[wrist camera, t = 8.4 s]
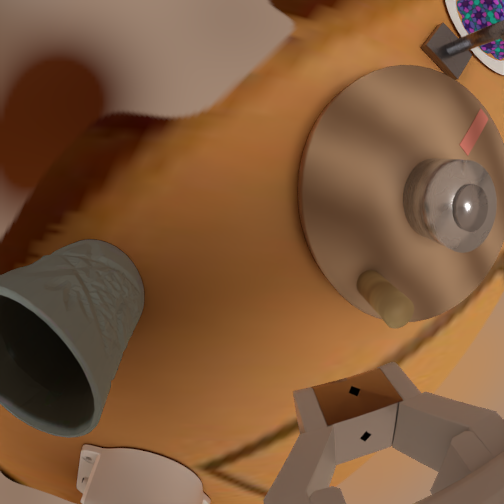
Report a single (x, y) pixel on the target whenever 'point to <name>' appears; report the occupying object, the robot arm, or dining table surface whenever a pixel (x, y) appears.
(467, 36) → the grey knobbed rod
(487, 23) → the pudding
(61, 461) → the dining table surface
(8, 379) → the grey green cup
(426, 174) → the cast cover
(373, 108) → the turntable
